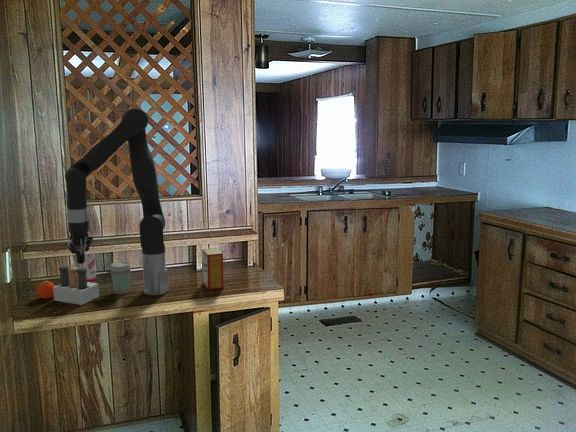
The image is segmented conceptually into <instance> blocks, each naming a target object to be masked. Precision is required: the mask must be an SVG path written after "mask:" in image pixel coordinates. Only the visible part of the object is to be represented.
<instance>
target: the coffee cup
mask: <svg viewBox="0 0 576 432" xmlns="http://www.w3.org/2000/svg"><path fill="white" fill-rule="evenodd" d="M130 263H131V262H129V261H116V262H112V263H111V264H110V267H109V271H110V274H111V276H110V277H111V280H112V281H111V282H112V286H113V287H112V288H113V291H114V294H117V295H124V294H127V293H129V291H130V285H131V284H130V283H131V282H130V281H131V269H132V265H131V264H130Z"/></svg>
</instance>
